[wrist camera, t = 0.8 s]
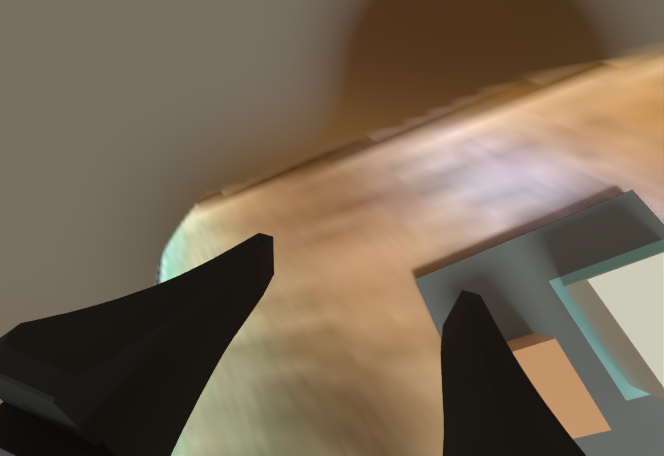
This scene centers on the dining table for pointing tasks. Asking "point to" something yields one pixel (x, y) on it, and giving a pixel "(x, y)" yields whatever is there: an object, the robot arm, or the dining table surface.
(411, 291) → the dining table surface
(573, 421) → the terracotta block
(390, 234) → the dining table surface
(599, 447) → the grey flat plate
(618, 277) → the base block
